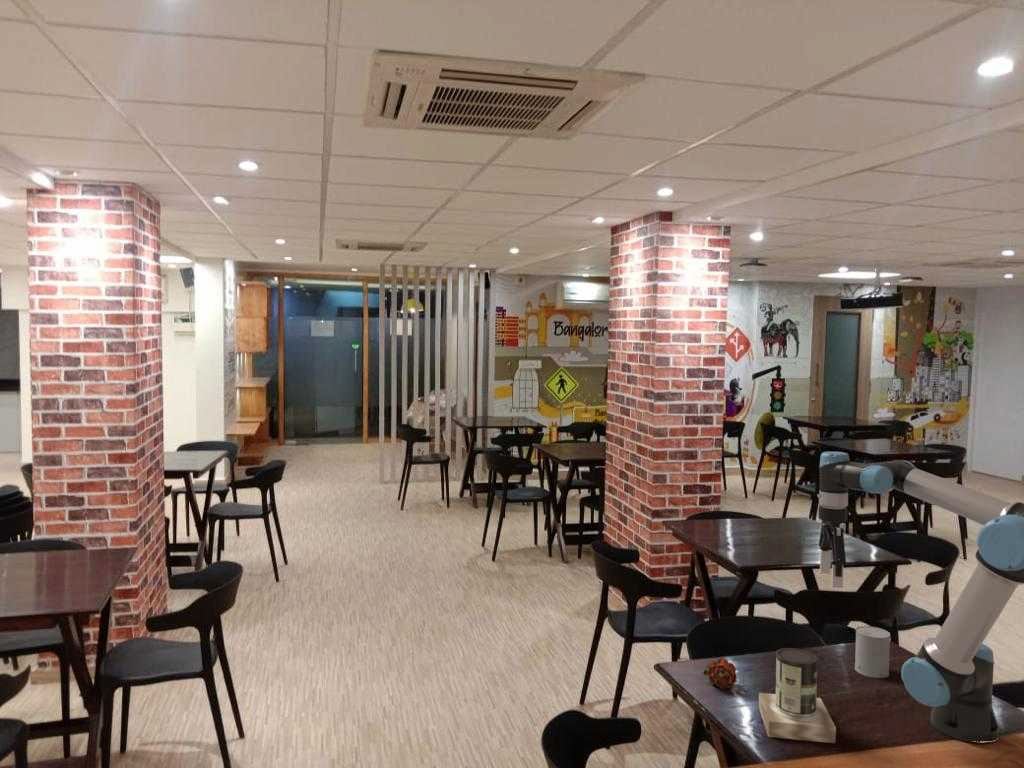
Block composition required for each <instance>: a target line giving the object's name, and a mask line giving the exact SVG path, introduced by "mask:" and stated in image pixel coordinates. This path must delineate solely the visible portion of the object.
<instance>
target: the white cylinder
mask: <svg viewBox="0 0 1024 768" xmlns="http://www.w3.org/2000/svg"><path fill="white" fill-rule="evenodd" d="M890 641H891V633H890V632H889V631H888V630H885V629H884V628H880V627H876V626H869V625H862V626H858V627H855V656H854V670H855V672H857V673H858V674H860V675H862V676H866V677H868V678H874V679H875V678H876V679H883V678H884V679H885V678H887V677H889V676H890V672H889V671H890V646H891V644H890Z"/></svg>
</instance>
